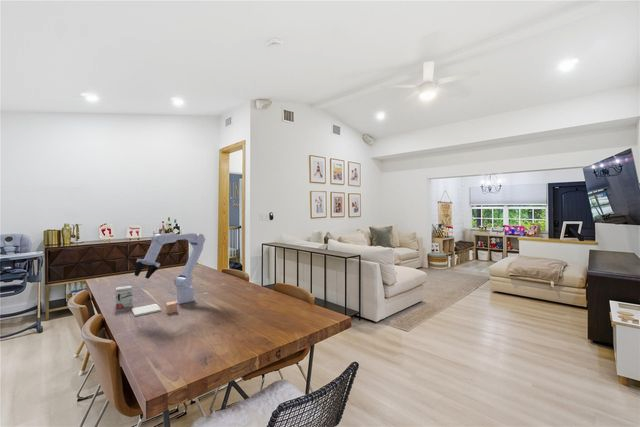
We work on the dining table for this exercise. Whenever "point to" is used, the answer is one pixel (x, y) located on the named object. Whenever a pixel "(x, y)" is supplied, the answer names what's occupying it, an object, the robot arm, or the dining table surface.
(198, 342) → the dining table surface
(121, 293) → the ink box
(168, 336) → the dining table surface
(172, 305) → the cube
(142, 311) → the mat
